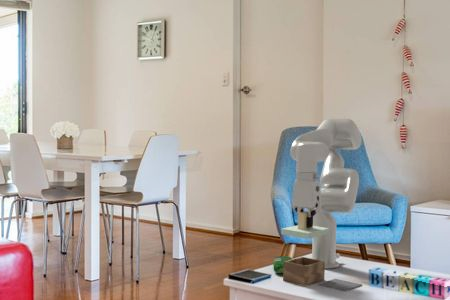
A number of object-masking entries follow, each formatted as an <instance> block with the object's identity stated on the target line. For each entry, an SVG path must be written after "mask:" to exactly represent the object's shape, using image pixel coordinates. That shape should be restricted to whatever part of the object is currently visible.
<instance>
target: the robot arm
mask: <svg viewBox="0 0 450 300" xmlns="http://www.w3.org/2000/svg"><path fill="white" fill-rule="evenodd" d="M362 141H363V140H362V133H361V132H360V129H359V127H358V126H357V124H356V123H355V121H354V120H353V119H351V118H327V119H324V120H323V121H322V122H321V123H320V125H319V126H318V127H317V128H316V129H315V130H312V131H309V132H305V133H303V134H300V135H298V136H297V137H296V138H295V140H293V142H292V144H291V146H290V150H289V151H290V152H289V153H290V157H291V159H292V160H293V161H296V165H295V166H296V167H295V168H296V170H295V171H296V173H295V174H296V175H295V180H294V183H293V188H292V195H291V196H292V199H291V200H292V202H291V204H290V207H291V209H292V210H294V211H295V212H296V215H297V216H298V213H299V212H305V209H307V211H308V217H307V219H306V227H307V228H310V227H312V226H318V227H324V228H329V234H326V235H322V236H318V237H314V238H311V241H312V242H311V243H312V246H311V248H312V249H311V259H316V260H321V261H325V270H326V269H329V270H330V269H337V268H339V267H340V262H339V261H337V259H339V258H340V257H341V254H340V253H337V252H336V251H337V222H336V219H335V217H334V216H333V214H332V213H338V214H350V213H352V212H353V211H354V209H355V204H356V202H357V201H356V200H357V195H358V190H359V187H360V186H359V184H360V177H359V175H360V174H359V173H358V172H357V170H356V169H354V168H347V167H346V168H344V167H345V159H344V158H343V156H342V155H341V154H340V153H339V152H338V150H346V151H348V150H350V151H351V150H354V151H355V150H358V149H359V148H360V147H361V145H362ZM318 163H323V166H322V170H321V175H320V174H318ZM318 179H319V180H318Z"/></svg>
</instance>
